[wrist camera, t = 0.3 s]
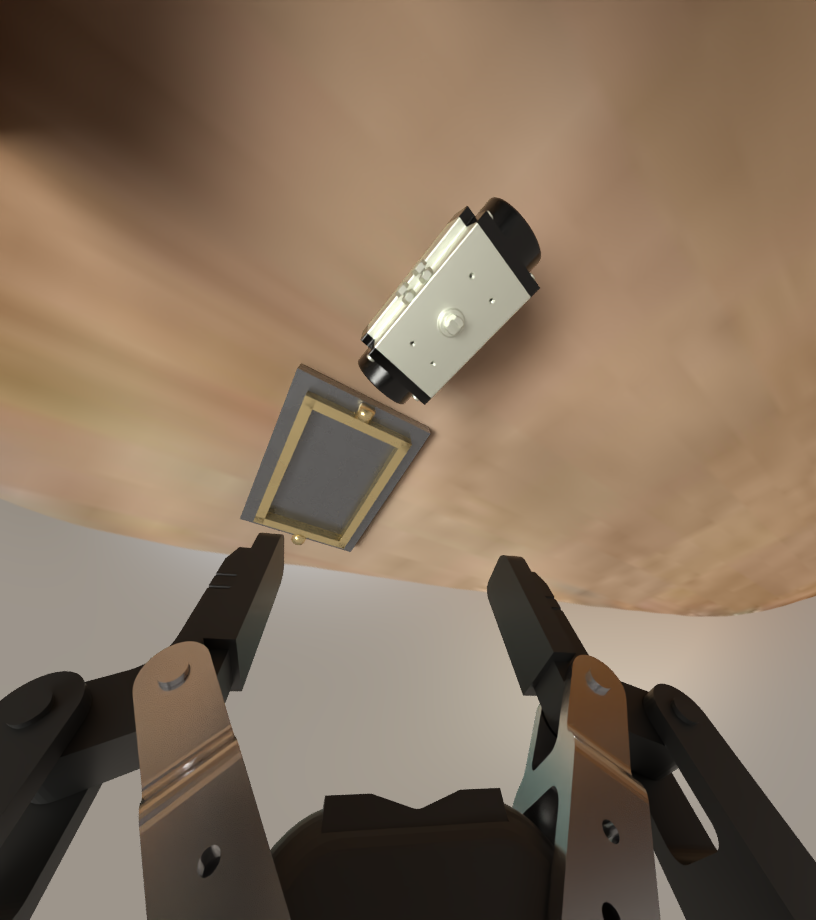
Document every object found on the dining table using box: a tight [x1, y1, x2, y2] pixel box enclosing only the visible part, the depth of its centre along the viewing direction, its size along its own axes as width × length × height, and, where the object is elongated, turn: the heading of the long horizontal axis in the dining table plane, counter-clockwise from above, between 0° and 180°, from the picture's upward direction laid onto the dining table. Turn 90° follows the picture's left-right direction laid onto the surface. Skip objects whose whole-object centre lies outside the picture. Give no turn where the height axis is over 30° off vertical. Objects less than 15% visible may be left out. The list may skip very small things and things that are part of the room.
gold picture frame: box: [240, 364, 431, 552], centre depth 33 cm, size 20×14×3 cm
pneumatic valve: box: [358, 197, 541, 405], centre depth 20 cm, size 6×12×12 cm, turn 137°
